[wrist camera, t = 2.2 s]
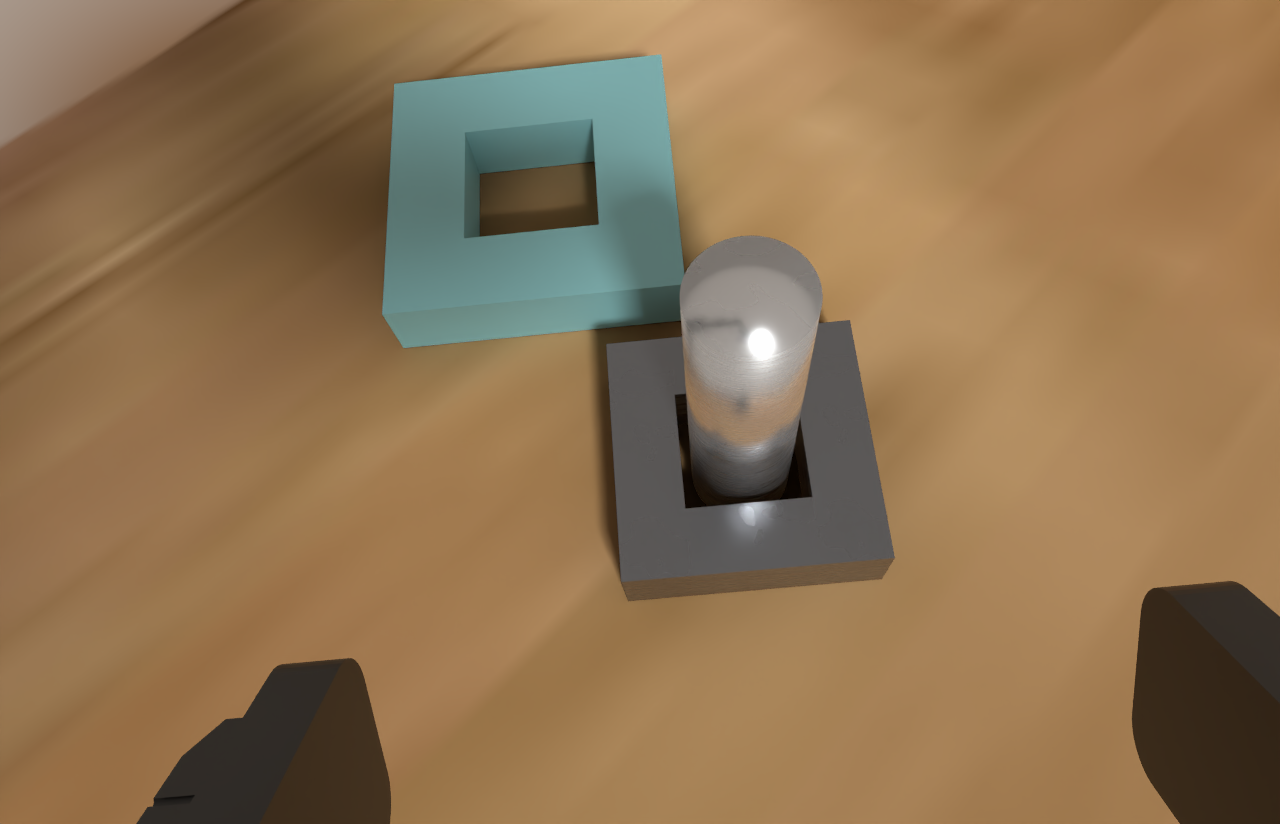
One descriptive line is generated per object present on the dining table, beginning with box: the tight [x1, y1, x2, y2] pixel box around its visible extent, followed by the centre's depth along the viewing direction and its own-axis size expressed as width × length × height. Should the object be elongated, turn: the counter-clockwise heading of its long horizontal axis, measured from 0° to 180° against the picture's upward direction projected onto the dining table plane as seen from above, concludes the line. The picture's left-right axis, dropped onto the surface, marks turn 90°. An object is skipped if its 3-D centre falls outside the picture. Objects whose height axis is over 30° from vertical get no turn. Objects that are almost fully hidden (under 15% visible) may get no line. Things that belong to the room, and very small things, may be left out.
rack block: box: [382, 55, 684, 348], centre depth 44 cm, size 13×13×3 cm
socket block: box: [606, 320, 895, 601], centre depth 38 cm, size 10×10×3 cm
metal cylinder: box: [680, 236, 823, 506], centre depth 33 cm, size 4×4×14 cm
